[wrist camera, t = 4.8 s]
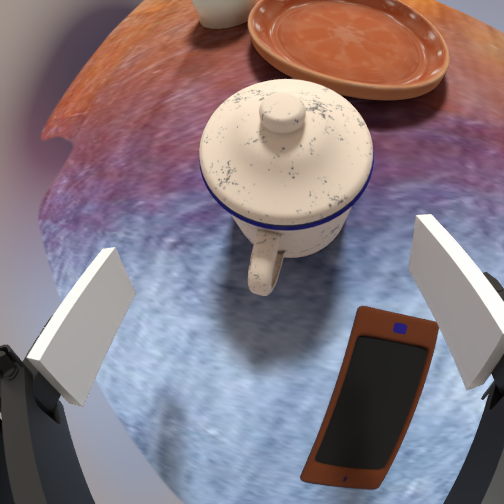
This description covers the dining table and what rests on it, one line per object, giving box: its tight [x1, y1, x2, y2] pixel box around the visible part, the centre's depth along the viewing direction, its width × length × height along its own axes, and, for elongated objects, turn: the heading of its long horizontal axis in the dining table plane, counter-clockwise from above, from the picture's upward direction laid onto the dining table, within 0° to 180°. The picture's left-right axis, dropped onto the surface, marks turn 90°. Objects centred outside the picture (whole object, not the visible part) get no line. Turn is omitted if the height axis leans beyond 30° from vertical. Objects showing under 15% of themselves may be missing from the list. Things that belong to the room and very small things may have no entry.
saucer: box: [248, 0, 450, 100], centre depth 24 cm, size 23×23×4 cm
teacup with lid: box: [199, 79, 374, 296], centre depth 16 cm, size 12×9×12 cm
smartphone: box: [300, 306, 439, 489], centre depth 18 cm, size 7×1×15 cm
